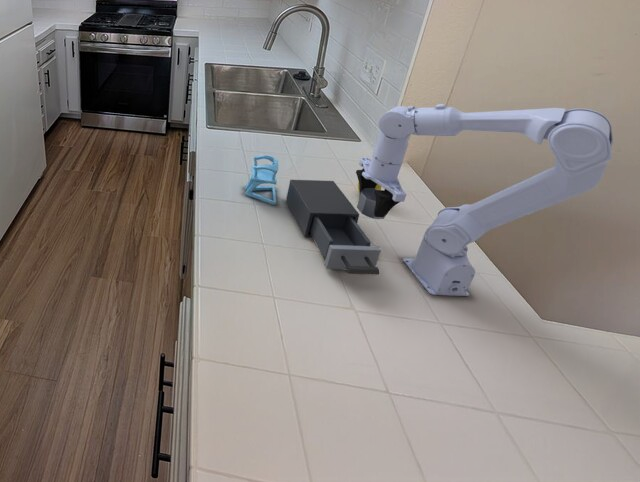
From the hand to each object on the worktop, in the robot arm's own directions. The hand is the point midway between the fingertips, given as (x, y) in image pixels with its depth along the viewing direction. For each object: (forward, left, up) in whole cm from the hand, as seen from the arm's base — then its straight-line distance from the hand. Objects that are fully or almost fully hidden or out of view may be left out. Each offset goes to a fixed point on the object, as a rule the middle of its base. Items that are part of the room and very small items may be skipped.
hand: (371, 207), depth 91 cm
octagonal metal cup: (0, 0, -1) cm, 1 cm away
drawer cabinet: (+6, +8, -9) cm, 14 cm away
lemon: (+16, -10, -10) cm, 21 cm away
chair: (+16, +20, -10) cm, 28 cm away
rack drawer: (-7, +8, -9) cm, 14 cm away
